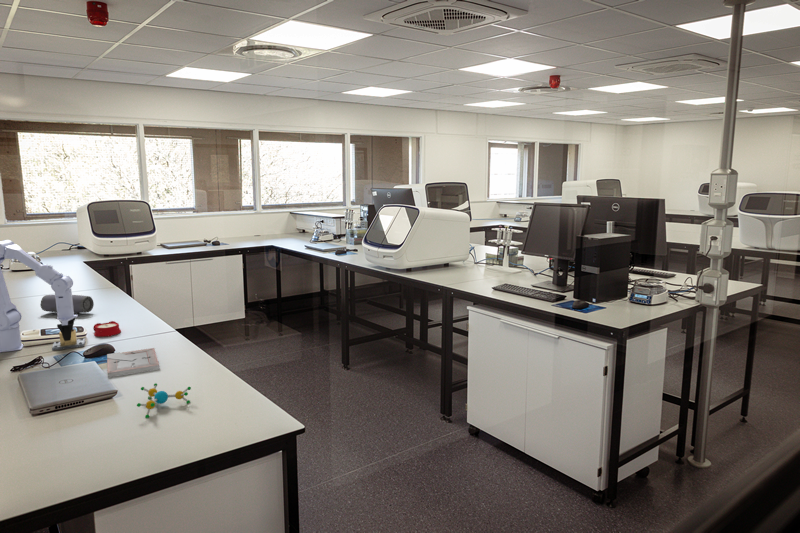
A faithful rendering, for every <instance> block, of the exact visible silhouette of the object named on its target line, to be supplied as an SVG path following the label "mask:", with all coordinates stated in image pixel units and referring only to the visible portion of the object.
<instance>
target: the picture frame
mask: <svg viewBox="0 0 800 533" xmlns="http://www.w3.org/2000/svg"><path fill="white" fill-rule="evenodd" d="M155 349H156V348H155V347H152V348H146V349H145V348H144V349H138V350H131V351H125V352H124V351H123V352H114V353H107V354H106V358H107V359H106V361H107V364H106V366H107V370H106V371H107V378H114V377H120V376H125V375H126V376H127V375H132V374H138V373H144V372H151V371H152V372H153V371H157V370H160V363H159V360H158V356H157V353H156V350H155Z"/></svg>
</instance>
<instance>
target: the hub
mask: <svg viewBox="0 0 800 533" xmlns="http://www.w3.org/2000/svg"><path fill="white" fill-rule="evenodd" d="M58 335H59V342H60V345H72V344H74V343H77V338H78V337H77V330H76V329H74V328H73V329H72V331H71V340H69V341H64V339H63V336H62V333H61V331H60V330H59V332H58Z"/></svg>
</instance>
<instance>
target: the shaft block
mask: <svg viewBox="0 0 800 533" xmlns="http://www.w3.org/2000/svg"><path fill="white" fill-rule="evenodd" d="M85 343H86V338H85V337H84V338H78V339H77V343H74V344H72V345H60V341H55V342H53V343H52V347H51V351H60V350H69V349H76V348H83V347H85V345H86V344H85Z"/></svg>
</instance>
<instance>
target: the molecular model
mask: <svg viewBox="0 0 800 533" xmlns="http://www.w3.org/2000/svg"><path fill="white" fill-rule="evenodd" d="M157 387H158V383H157V382H155V383H154V384H153V388H150V389H147V388H145V387H144V386H141V387H140V390H141V391H144V392H147V395H148V397H147V399H148V401H146V403H140V402H138V403H136V407H137V408H140V407H145V409H147V412H146V414H145V416H144V417H145V419H149V418H150V412H151V410H153V409H154V408H155V407H156V404H158V405H160V404H165V403H166V402H167V401H168V398H175V399H177V400H183V401H185V402H186V404H190V403H191V400H189V399H187V398H186V397H185V396H188V395H189V393H188V391H190V390H192V386H191V387H190V386H188V387H187V388H186V389H184V390H183V391H182V390H178V391H176V393H174V394H168V393H167V391H164V390H157ZM152 397H153V398H154V399H153V400H151V399H152Z"/></svg>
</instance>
